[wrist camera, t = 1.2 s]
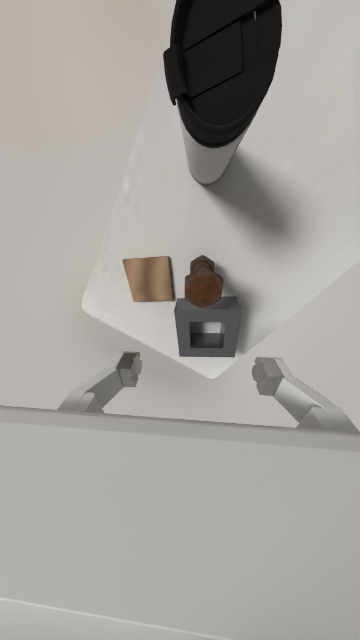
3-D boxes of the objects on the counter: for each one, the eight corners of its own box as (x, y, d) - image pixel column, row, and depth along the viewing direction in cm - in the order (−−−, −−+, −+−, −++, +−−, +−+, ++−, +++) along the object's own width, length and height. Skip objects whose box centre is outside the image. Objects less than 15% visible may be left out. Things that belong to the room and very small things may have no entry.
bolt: (211, 277, 35) (219, 310, 22) (189, 276, 35) (184, 309, 23) (214, 249, 32) (225, 269, 19) (190, 248, 32) (184, 269, 20)
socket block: (235, 296, 37) (241, 308, 32) (230, 341, 44) (234, 357, 39) (177, 298, 39) (174, 310, 34) (181, 341, 46) (179, 356, 41)
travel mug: (181, 141, 24) (143, -27, 7) (225, 120, 22) (301, -155, 6) (191, 191, 27) (181, 151, 11) (230, 175, 26) (290, 99, 9)
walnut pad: (168, 256, 33) (167, 257, 33) (173, 298, 39) (172, 300, 38) (124, 259, 35) (122, 260, 34) (135, 299, 40) (133, 301, 39)
